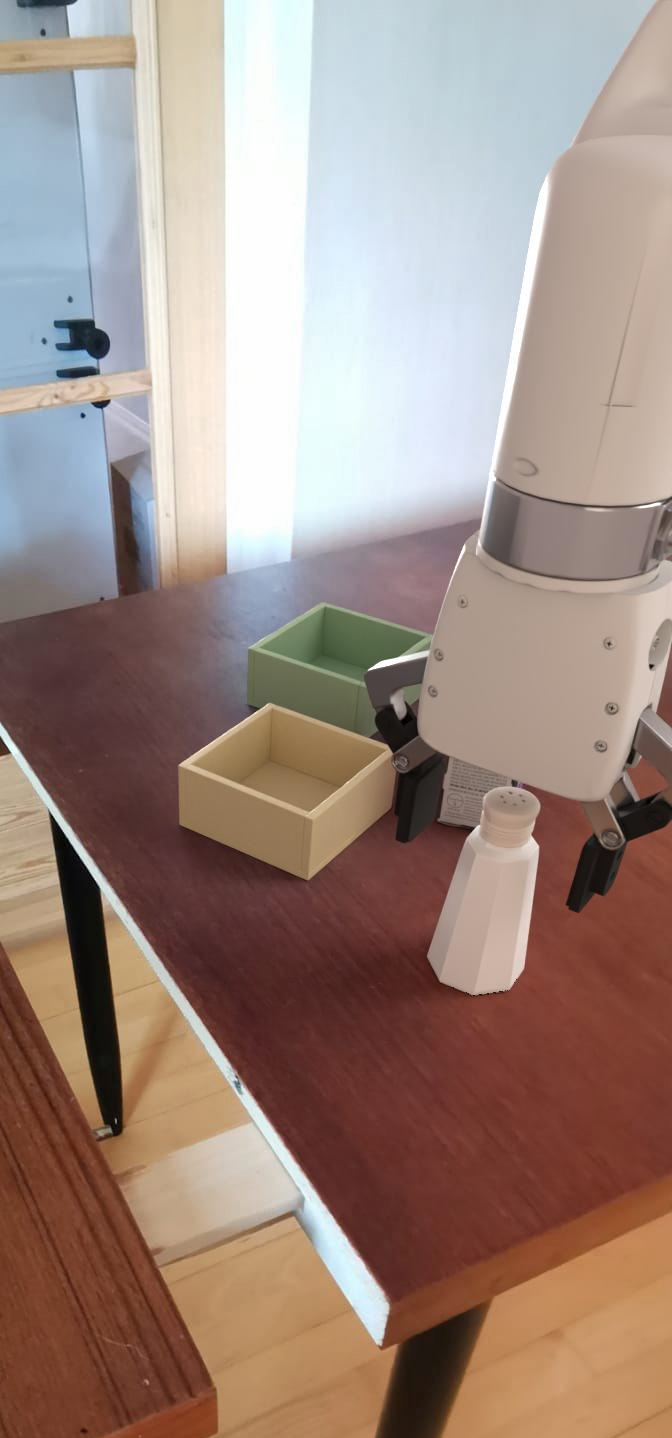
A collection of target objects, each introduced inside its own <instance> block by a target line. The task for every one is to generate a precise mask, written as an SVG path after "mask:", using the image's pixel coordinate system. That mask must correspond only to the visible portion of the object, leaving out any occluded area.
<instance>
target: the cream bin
mask: <svg viewBox="0 0 672 1438" xmlns="http://www.w3.org/2000/svg"><path fill="white" fill-rule="evenodd" d="M392 755H393V753H392V751H391V750H390V748H389V746H388V745H387V743H384V742H381V741H378V740H375V739H372V738H371V737H369V738H367V737H364V736H361V735H359V734H356V733H353V732H350V731H347V730H345V729H342V728H339V727H336V726H333V725H331V724H328V723H325V722H322V721H319V720H317V719H314V718H311V717H308V716H305V715H303V714H300V713H297V712H294V711H291V710H288V709H286V708H283V707H280V706H276V705H274V704H272V703H269V704H267V705H266V706H265V707H263V708H262V709H260V708H259V709H258V710H257V711H256V712H254V713H253V714H251V715H250V716H249V717H247V718H245V719H244V720H243V721H241V722H240V723H238V724H237V725H235V726H233V727H232V728H230V729H229V730H227V732H225V733H223V734H222V735H221V736H219V737H218V738H216V739H215V740H213V741H212V742H210V743H209V744H208V745H205V747H203V748H201V749H200V750H199V751H197V752H195V753H194V754H193V755H190V757H189V758H187V759H186V760H184V761H182V762H181V763H179V764H178V766H177V770H178V771H177V773H178V775H177V776H178V817H179V819H178V821H179V823H178V824H179V826H182V827H183V828H185V829H186V828H187V829H188V830H191V831H193V832H195V833H197V834H200V835H202V836H204V837H206V838H209V839H211V840H213V841H216V842H218V843H220V844H222V845H225V846H227V847H230V848H232V849H233V850H237V851H239V852H241V853H243V854H246V855H248V856H250V857H252V858H254V859H257V860H259V861H261V862H264V863H266V864H269V865H271V866H273V867H275V868H277V869H281V870H283V871H285V872H286V873H289V874H292V875H294V876H297V878H301V879H303V880H305V881H309V880H311V879H312V878H313V877H314V876H315V875H316V874H318V873H319V872H320V871H321V870H322V869H323V868H325V867H326V866H327V865H328V864H329V863H330V862H331V861H333V859H334V858H336V857H337V856H338V855H339V854H340V853H342V852H343V851H344V850H345V849H346V848H347V847H348V846H350V845H351V844H352V843H353V842H354V841H355V840H356V839H358V838H359V837H360V836H361V835H363V833H364V832H366V831H367V830H368V829H369V828H371V827H372V825H374V824H375V823H376V822H377V821H378V820H379V819H381V817H383V816H384V815H385V814H386V813H388V811H390V810H391V809H392V805H393V798H394V789H395V782H396V777H397V775H396V774H397V771H396V770H395V769H394V767H393V766H392V763H391V758H392Z"/></svg>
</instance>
